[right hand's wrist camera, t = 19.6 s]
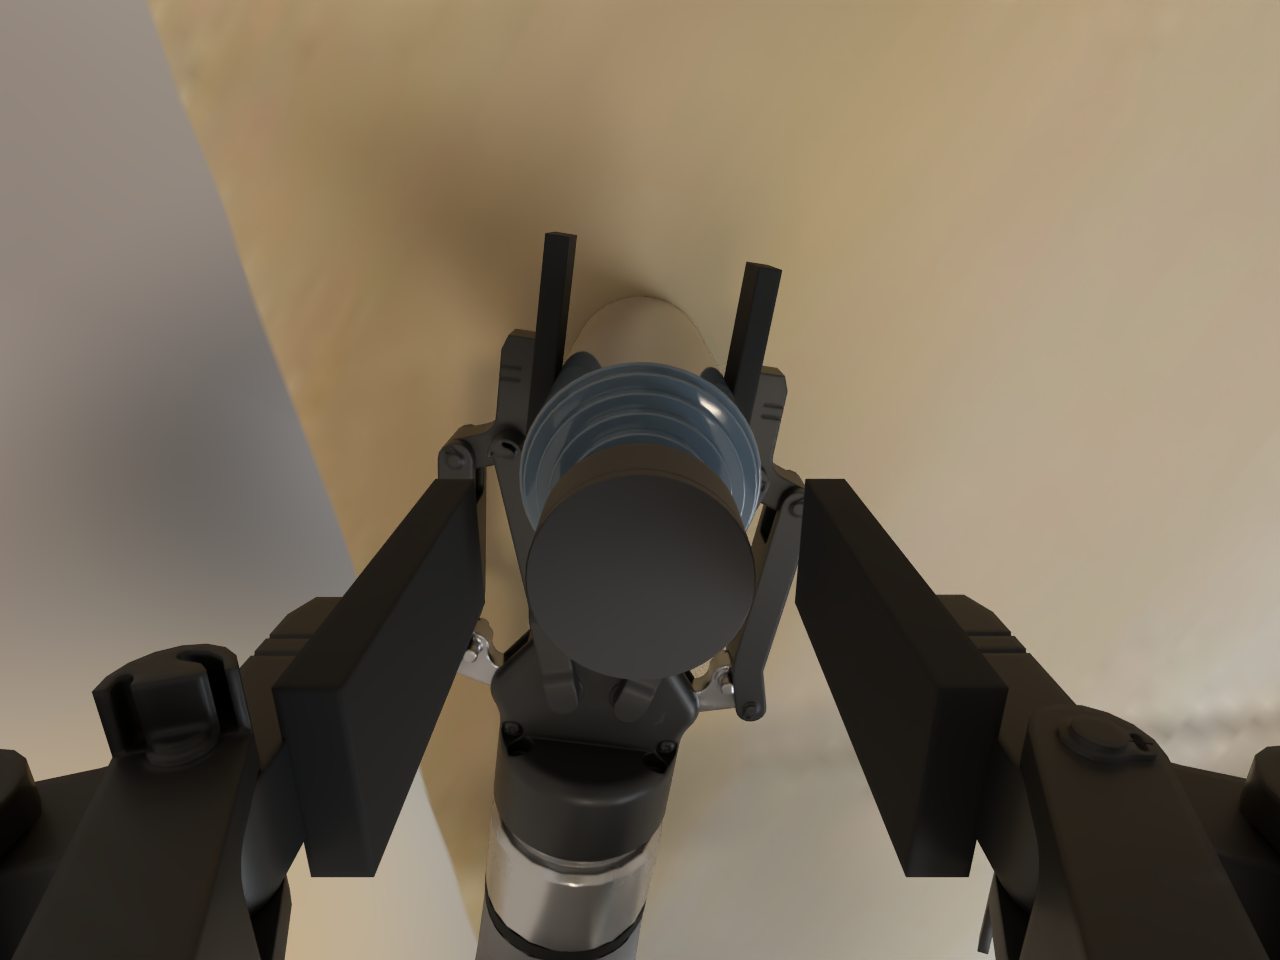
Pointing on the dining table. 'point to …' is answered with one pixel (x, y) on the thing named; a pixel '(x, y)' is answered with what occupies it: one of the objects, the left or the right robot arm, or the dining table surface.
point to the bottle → (640, 403)
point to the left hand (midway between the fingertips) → (663, 251)
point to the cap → (640, 563)
